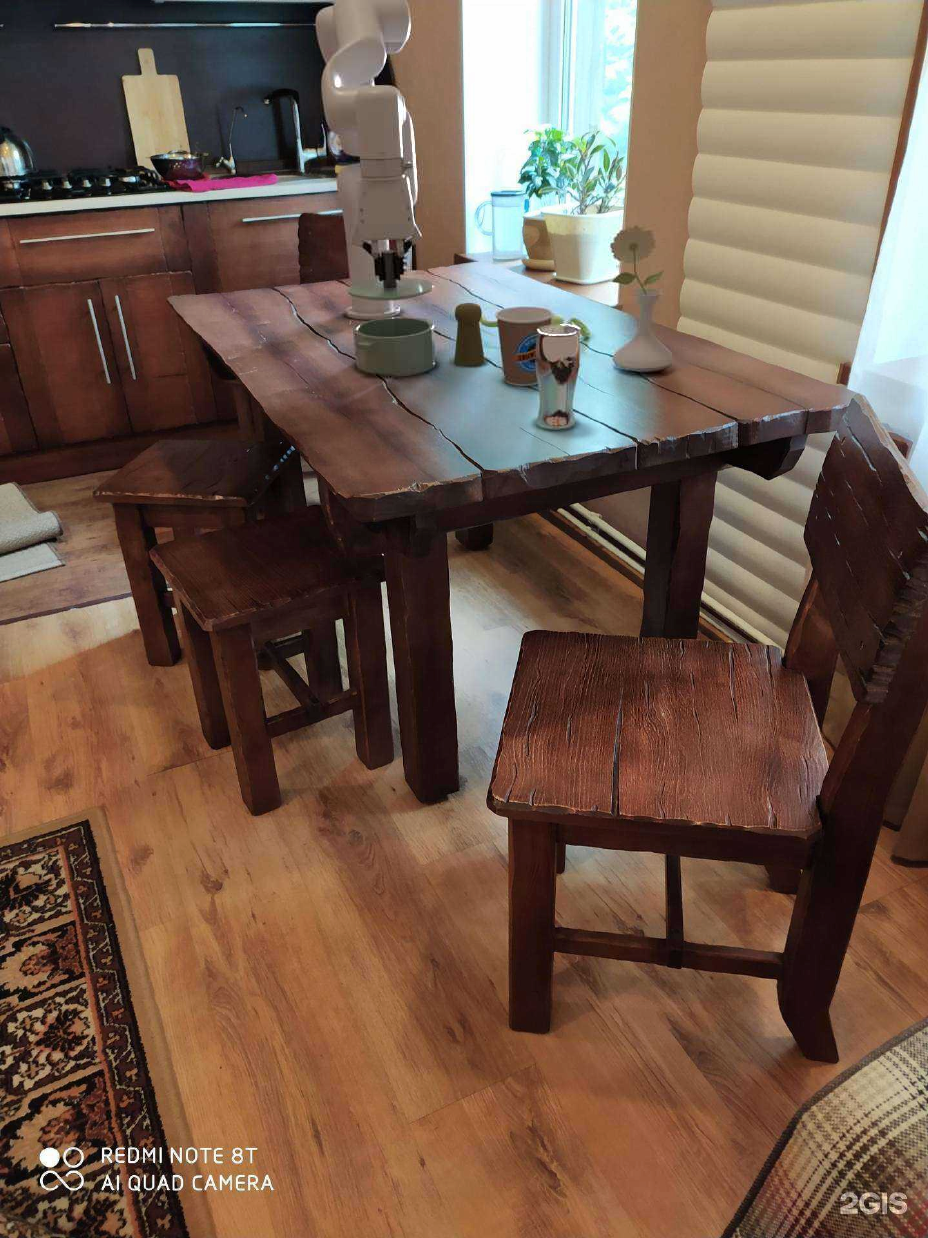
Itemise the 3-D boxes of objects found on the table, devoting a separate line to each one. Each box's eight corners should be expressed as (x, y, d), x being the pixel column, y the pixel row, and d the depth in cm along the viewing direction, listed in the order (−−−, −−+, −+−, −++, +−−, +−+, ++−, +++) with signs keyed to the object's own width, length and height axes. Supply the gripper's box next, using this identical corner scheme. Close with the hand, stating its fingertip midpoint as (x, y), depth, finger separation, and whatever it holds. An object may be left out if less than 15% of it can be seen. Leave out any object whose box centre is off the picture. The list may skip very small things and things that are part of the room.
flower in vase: (676, 361, 173) (690, 220, 159) (668, 379, 164) (681, 231, 150) (609, 356, 176) (617, 218, 163) (597, 374, 167) (604, 229, 154)
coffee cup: (513, 392, 160) (513, 323, 153) (485, 377, 167) (484, 311, 161) (562, 382, 163) (564, 315, 157) (533, 368, 171) (534, 303, 165)
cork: (481, 366, 173) (480, 307, 167) (451, 365, 174) (449, 307, 169) (487, 357, 178) (486, 300, 172) (457, 356, 179) (455, 299, 174)
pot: (333, 374, 172) (328, 335, 168) (393, 347, 187) (390, 311, 183) (399, 385, 165) (396, 345, 161) (456, 355, 180) (455, 318, 176)
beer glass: (531, 417, 149) (532, 324, 141) (572, 415, 149) (576, 322, 141) (537, 432, 143) (539, 336, 135) (581, 429, 143) (585, 334, 135)
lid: (329, 298, 166) (325, 256, 162) (380, 280, 178) (377, 241, 174) (402, 306, 159) (400, 262, 155) (450, 287, 171) (448, 246, 167)
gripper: (427, 165, 161) (432, 273, 171) (336, 169, 160) (346, 277, 170) (429, 169, 155) (434, 281, 165) (334, 173, 154) (345, 285, 164)
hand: (389, 278), depth 167 cm, fingers closed on lid, 2 cm apart
